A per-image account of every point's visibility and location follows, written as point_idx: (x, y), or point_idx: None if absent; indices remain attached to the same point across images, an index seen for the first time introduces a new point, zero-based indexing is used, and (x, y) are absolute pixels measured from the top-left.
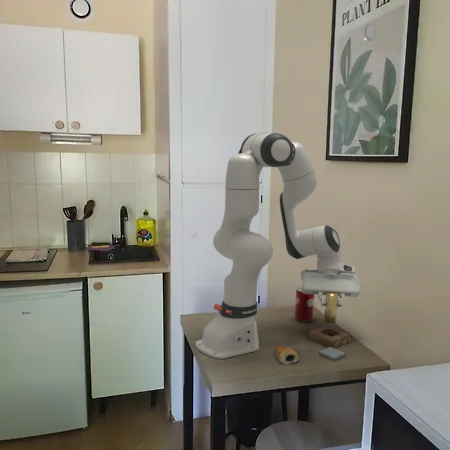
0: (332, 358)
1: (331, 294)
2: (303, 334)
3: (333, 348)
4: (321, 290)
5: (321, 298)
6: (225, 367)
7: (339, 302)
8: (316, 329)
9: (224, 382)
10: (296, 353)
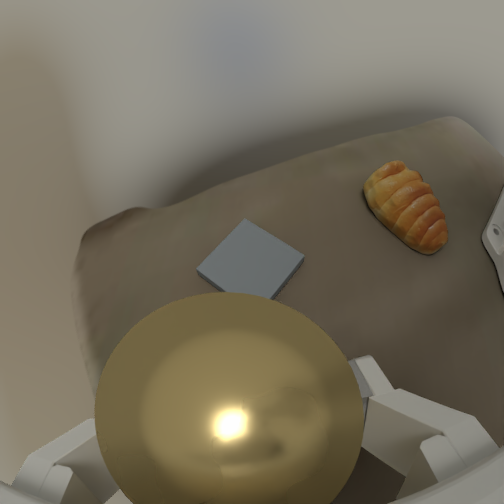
0: (251, 224)
1: (243, 353)
2: None
3: None
4: (475, 464)
5: (402, 392)
6: (480, 154)
7: None
8: None
9: (448, 116)
10: (376, 190)
